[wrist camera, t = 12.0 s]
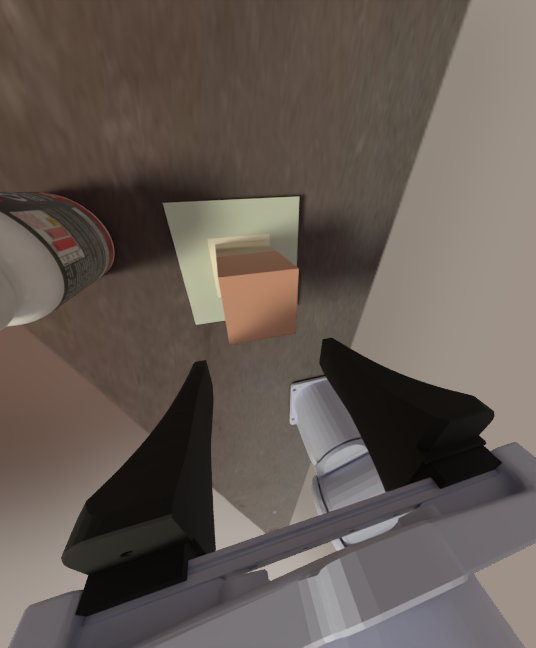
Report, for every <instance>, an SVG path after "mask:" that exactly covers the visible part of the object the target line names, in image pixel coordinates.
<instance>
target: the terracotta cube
mask: <svg viewBox="0 0 536 648" xmlns="http://www.w3.org/2000/svg"><path fill="white" fill-rule="evenodd" d="M216 262H217V272H218V281H219V286H220V292H221V298H222V303H223V309H224V315H225V320H226V326H227V332H228V337H229V343H230V345H233V344H238V343H244V342H250V341H256V340H261V339H267V338H273V337H279V336H284V335H290V334H296V319H297V297H298V275H299V268H298V267H296V266H295V265H294V264H293V263H291V262H290V261H289V260H288V259H286V258H285V257H284V256H283V255H281V254H280V253H279V252H278V251H274V252H263V253H253V254H242V255H232V256H221V257H216Z"/></svg>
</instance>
